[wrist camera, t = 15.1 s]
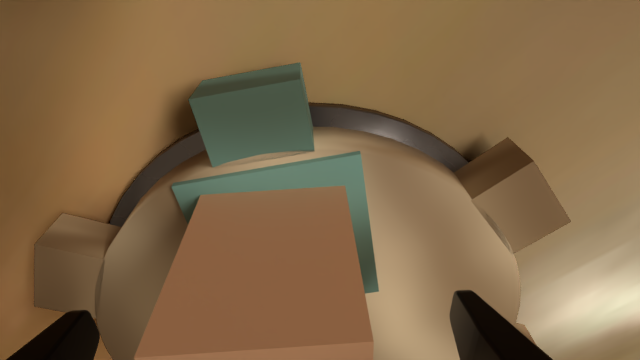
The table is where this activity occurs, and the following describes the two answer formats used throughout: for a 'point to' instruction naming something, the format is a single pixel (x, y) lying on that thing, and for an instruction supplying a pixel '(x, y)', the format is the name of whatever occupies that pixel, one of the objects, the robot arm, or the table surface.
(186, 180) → the sprocket disc
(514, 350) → the robot arm
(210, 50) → the table surface
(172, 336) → the link block
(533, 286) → the table surface
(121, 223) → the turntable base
